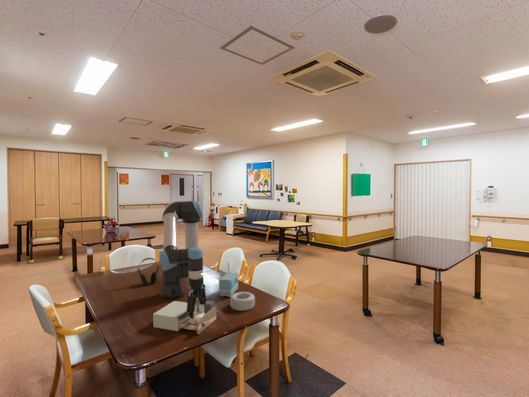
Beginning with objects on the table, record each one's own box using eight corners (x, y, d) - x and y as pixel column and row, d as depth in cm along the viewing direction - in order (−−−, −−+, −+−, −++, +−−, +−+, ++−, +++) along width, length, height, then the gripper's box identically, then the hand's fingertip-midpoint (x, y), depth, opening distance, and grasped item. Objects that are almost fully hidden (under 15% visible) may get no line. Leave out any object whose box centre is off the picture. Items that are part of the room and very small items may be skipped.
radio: (232, 298, 189) (231, 268, 188) (219, 297, 191) (218, 267, 190) (239, 289, 204) (239, 261, 204) (227, 288, 206) (226, 261, 206)
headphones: (137, 284, 220) (136, 258, 219) (157, 280, 228) (156, 255, 227) (139, 287, 212) (138, 260, 212) (160, 283, 221) (159, 257, 220)
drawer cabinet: (153, 326, 152) (153, 313, 151) (174, 312, 168) (174, 300, 168) (177, 331, 147) (177, 317, 146) (196, 316, 164) (196, 303, 163)
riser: (203, 313, 166) (202, 303, 166) (207, 310, 171) (207, 300, 171) (210, 314, 165) (210, 304, 164) (215, 311, 169) (214, 301, 169)
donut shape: (234, 313, 166) (234, 302, 166) (227, 304, 180) (227, 293, 180) (258, 308, 172) (258, 297, 172) (249, 299, 186) (249, 289, 186)
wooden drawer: (173, 329, 148) (172, 317, 147) (192, 314, 164) (192, 303, 164) (200, 334, 142) (200, 321, 142) (218, 318, 159) (217, 307, 159)
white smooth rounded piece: (186, 320, 151) (186, 317, 150) (195, 314, 158) (195, 311, 158) (199, 322, 148) (199, 319, 148) (207, 316, 155) (207, 313, 155)
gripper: (191, 284, 141) (192, 330, 142) (212, 272, 161) (213, 312, 162) (178, 283, 144) (179, 327, 145) (200, 271, 163) (201, 310, 164)
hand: (197, 319), depth 153 cm, fingers closed on white smooth rounded piece, 8 cm apart
